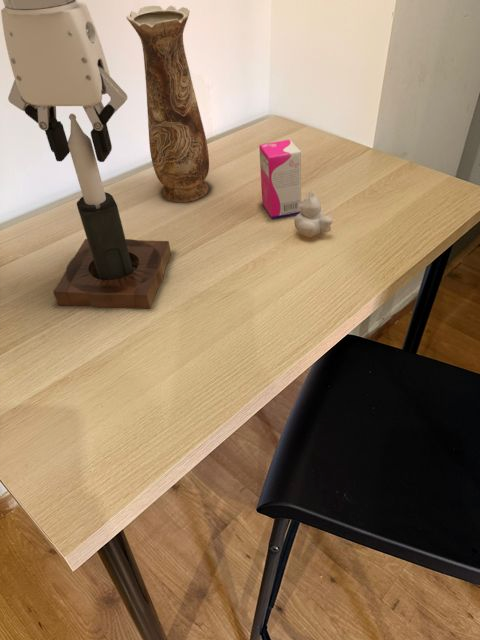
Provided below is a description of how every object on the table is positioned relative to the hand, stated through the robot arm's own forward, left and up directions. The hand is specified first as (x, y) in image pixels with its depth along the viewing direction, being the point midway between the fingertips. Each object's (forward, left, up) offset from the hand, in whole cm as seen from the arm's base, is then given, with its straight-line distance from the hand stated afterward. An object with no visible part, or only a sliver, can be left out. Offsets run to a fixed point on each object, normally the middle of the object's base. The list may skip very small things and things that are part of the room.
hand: (83, 155), depth 69 cm
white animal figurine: (+30, +14, -20) cm, 39 cm away
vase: (+5, +28, -20) cm, 35 cm away
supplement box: (+24, +22, -20) cm, 38 cm away
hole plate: (0, 0, -20) cm, 20 cm away
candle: (0, 0, -20) cm, 20 cm away
